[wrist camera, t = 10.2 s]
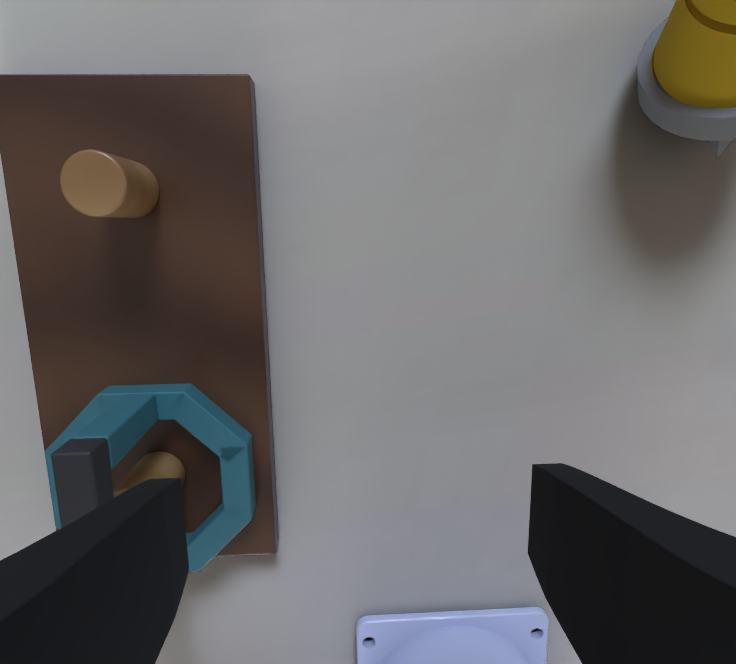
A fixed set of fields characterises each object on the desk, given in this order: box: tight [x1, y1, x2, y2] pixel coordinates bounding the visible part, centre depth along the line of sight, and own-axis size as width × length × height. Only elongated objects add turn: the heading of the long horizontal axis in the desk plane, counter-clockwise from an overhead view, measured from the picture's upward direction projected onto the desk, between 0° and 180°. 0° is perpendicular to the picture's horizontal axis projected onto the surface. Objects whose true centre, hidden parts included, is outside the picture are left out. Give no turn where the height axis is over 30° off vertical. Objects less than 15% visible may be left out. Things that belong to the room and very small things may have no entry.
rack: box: [0, 74, 279, 557], centre depth 17 cm, size 17×8×4 cm, turn 1°
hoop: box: [45, 383, 256, 572], centre depth 16 cm, size 7×7×6 cm
